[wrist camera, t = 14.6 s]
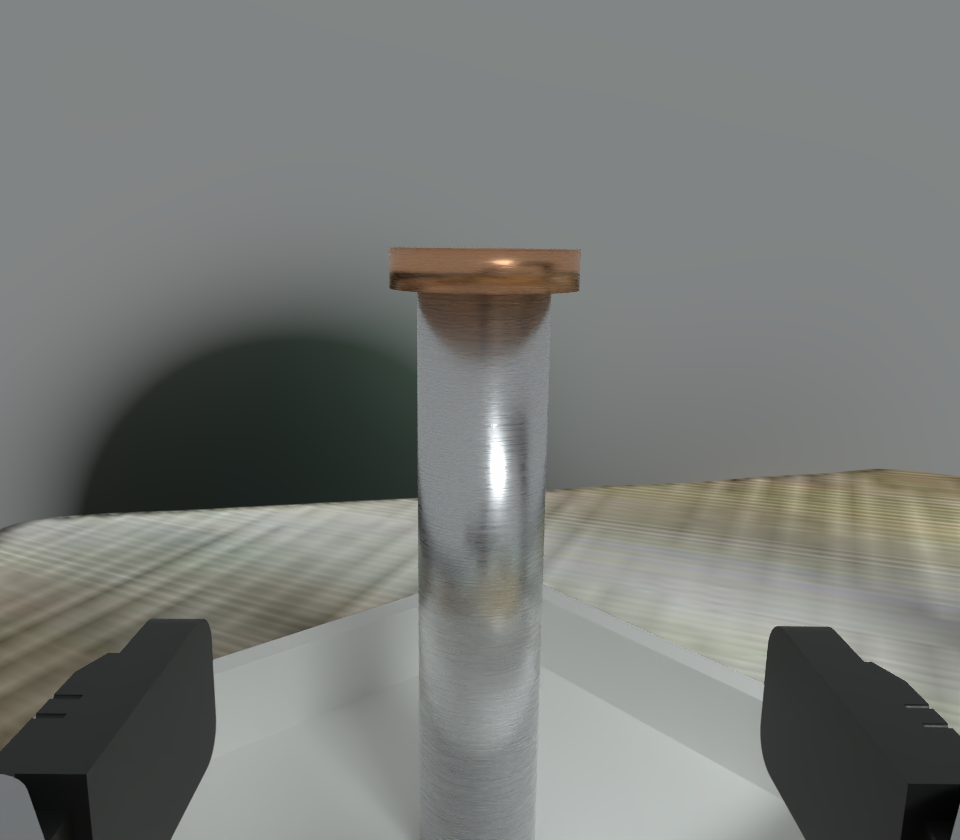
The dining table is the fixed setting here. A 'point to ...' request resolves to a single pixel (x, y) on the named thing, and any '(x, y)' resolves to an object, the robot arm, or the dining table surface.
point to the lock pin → (481, 527)
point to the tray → (561, 736)
